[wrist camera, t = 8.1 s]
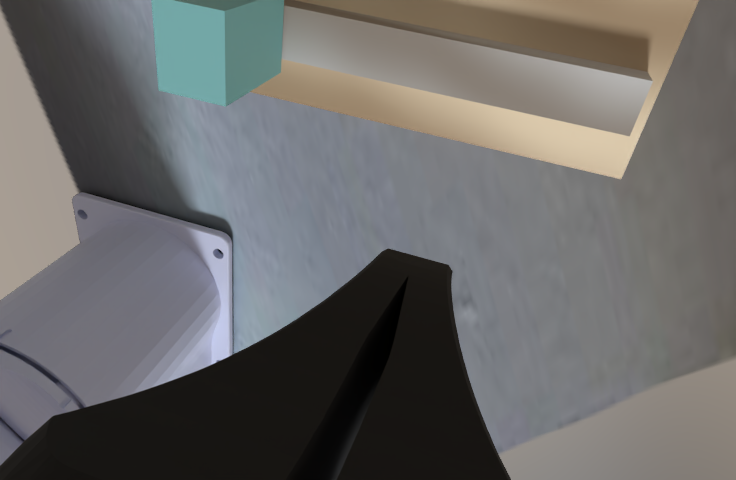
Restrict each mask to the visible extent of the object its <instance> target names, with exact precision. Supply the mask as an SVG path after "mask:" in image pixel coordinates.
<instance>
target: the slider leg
mask: <svg viewBox="0 0 736 480" xmlns="http://www.w3.org/2000/svg"><path fill="white" fill-rule="evenodd" d="M151 1H152V14H153V27H154V39H155V52H156V64H157V77H158V89H159V91H164V92H168V93H172V94H176V95H180V96H184V97H188V98H193V99H197V100H201V101H205V102H209V103H213V104H217V105H221V106H227V105H229V104H231V103H232V102H234V101H235V100H237V99H239V98H240V97H242V96H244V95H245V94H247V93H248V92H250V91H252V90H253V89H255V88H257V87H258V86H260V85H262V84H263V83H265V82H266V81H268V80H270V79H271V78H273V77H275V76H276V75H278V74H279V73H281V59H282V37H283V15H284V0H151Z"/></svg>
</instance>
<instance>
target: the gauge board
mask: <svg viewBox="0 0 736 480" xmlns="http://www.w3.org/2000/svg"><path fill="white" fill-rule="evenodd" d="M698 1H699V0H284V15H283V37H282V59H281V73H279V74H278V75H276V76H275V77H273V78H271V79H270V80H268V81H266V82H265V83H263V84H262V85H260V86H258V87H257V88H255V89H253V90H252V91H250V92H253V93H257V94H261V95H265V96H270V97H274V98H278V99H282V100H287V101H291V102H295V103H299V104H304V105H308V106H312V107H316V108H321V109H325V110H329V111H333V112H338V113H342V114H346V115H350V116H355V117H359V118H363V119H367V120H372V121H376V122H380V123H384V124H389V125H393V126H397V127H401V128H406V129H410V130H414V131H418V132H423V133H427V134H431V135H435V136H440V137H444V138H448V139H452V140H457V141H461V142H465V143H469V144H474V145H478V146H482V147H486V148H491V149H495V150H499V151H503V152H508V153H512V154H516V155H520V156H525V157H529V158H533V159H537V160H542V161H546V162H550V163H554V164H559V165H563V166H567V167H571V168H576V169H580V170H584V171H588V172H593V173H597V174H601V175H605V176H610V177H614V178H618V179H622V176H623V174H624V172H625V169H626V167H627V165H628V162H629V160H630V158H631V155H632V153H633V151H634V149H635V146H636V144H637V142H638V139H639V137H640V135H641V132H642V130H643V128H644V126H645V123H646V121H647V119H648V116H649V114H650V112H651V109H652V107H653V105H654V102H655V100H656V98H657V96H658V93H659V91H660V89H661V86H662V84H663V82H664V79H665V77H666V75H667V73H668V70H669V68H670V66H671V63H672V61H673V59H674V56H675V54H676V52H677V49H678V47H679V45H680V43H681V40H682V38H683V36H684V33H685V31H686V29H687V26H688V24H689V22H690V20H691V17H692V15H693V13H694V10H695V8H696V6H697V3H698Z"/></svg>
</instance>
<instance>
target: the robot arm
mask: <svg viewBox="0 0 736 480" xmlns="http://www.w3.org/2000/svg"><path fill="white" fill-rule="evenodd" d="M72 203H73V208H74V213H75V219H76V224H77V229H78V235H79V240H80V244H78V245H77V246H76V247H74V248H73V249H71V250H70V251H69V252H67V253H66V254H64V255H63V256H62V257H60V258H59V259H58V260H56V261H55V262H53V263H52V264H51V265H49V266H48V267H46V268H45V269H43V270H42V271H40V272H39V273H38V274H36V275H35V276H33V277H32V278H31V279H30V280H28V281H27V282H25V283H24V284H22V285H21V286H19V287H18V288H17V289H15V290H14V291H12V292H11V293H10V294H8V295H7V296H6V297H4V298H3V299H1V300H0V480H511V479H510V477H509V475H508V473H507V471H506V469H505V467H504V465H503V463H502V461H501V459H500V457H499V455H498V453H497V451H496V448H495V446H494V444H493V441H492V439H491V437H490V434H489V432H488V430H487V427H486V425H485V423H484V420H483V417H482V415H481V412H480V409H479V407H478V404H477V402H476V399H475V396H474V393H473V390H472V387H471V384H470V381H469V377H468V374H467V370H466V367H465V363H464V360H463V356H462V352H461V348H460V344H459V339H458V334H457V329H456V324H455V318H454V312H453V303H452V292H451V278H452V270H451V268H450V267H449V265H446V264H443V263H439V262H435V261H432V260H428V259H424V258H421V257H417V256H413V255H410V254H406V253H402V252H399V251H395V250H391V249H386V250H384V251H382V252H381V253H380V254H379V255H378V256H377V257H376V258H375V259H374V260H373V261H372V262H371V263H370V264H369V265H367V266H366V267H365V268H364V269H363V270H362V271H361V272H359V273H358V274H357V275H356V276H355V277H354V278H352V279H351V280H350V281H349V282H347V283H346V284H345V285H344V286H342V287H341V288H340V289H338V290H337V291H336V292H335V293H333V294H332V295H331V296H329V297H328V298H327V299H325V300H324V301H323V302H321V303H320V304H318V305H317V306H315V307H314V308H312V309H311V310H310V311H308V312H307V313H305V314H304V315H302V316H301V317H299V318H298V319H296V320H295V321H293V322H292V323H290V324H288V325H287V326H285V327H283V328H282V329H280V330H279V331H277V332H275V333H273V334H272V335H270V336H268V337H266V338H264V339H263V340H261V341H259V342H257V343H255V344H253V345H251V346H250V347H248V348H246V349H243V350H241V351H239V352H237V353H235V354H233V324H232V241H231V239H230V237H229V236H228V235H227V234H226V233H224V232H222V231H218V230H215V229H211V228H208V227H204V226H201V225H197V224H193V223H190V222H186V221H183V220H179V219H176V218H172V217H169V216H165V215H162V214H158V213H155V212H151V211H148V210H144V209H140V208H137V207H133V206H130V205H126V204H123V203H119V202H116V201H112V200H109V199H105V198H102V197H98V196H95V195H91V194H87V193H83V192H81V193H79V194H77V195H75V196H74V197H73V199H72ZM84 211H85V212H86V213H87V214H86V213H85V212H84ZM218 249H219V250H221V251H222V252H223V254H221V253H220V252H219V251H218Z"/></svg>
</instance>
